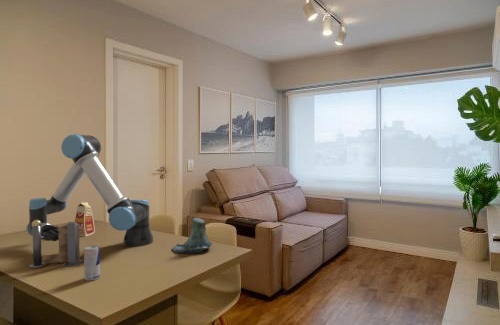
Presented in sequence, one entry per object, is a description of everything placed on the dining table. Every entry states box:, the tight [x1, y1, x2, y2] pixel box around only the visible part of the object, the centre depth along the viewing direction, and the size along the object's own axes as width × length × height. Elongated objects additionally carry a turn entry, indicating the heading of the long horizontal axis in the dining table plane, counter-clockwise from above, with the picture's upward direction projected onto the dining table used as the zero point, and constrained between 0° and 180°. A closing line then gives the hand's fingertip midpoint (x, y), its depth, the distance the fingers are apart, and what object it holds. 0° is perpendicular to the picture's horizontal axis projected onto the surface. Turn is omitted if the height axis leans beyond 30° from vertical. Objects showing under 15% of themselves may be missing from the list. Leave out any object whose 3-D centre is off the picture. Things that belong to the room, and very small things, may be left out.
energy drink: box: [83, 245, 101, 282], centre depth 127 cm, size 5×5×12 cm
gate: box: [42, 224, 81, 264], centre depth 146 cm, size 14×2×16 cm, turn 120°
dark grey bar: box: [62, 221, 84, 268], centre depth 144 cm, size 6×6×18 cm
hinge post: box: [28, 220, 47, 269], centre depth 141 cm, size 6×6×20 cm
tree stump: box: [171, 217, 213, 254], centre depth 165 cm, size 18×20×18 cm
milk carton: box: [74, 201, 96, 237], centre depth 198 cm, size 9×9×20 cm
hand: (70, 239), depth 149 cm, fingers closed
